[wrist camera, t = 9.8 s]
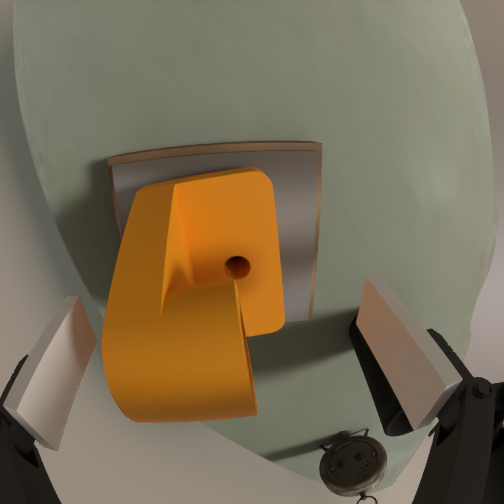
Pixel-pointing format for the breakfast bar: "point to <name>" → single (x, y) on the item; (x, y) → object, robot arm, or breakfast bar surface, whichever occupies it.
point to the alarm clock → (353, 465)
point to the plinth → (284, 186)
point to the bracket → (193, 297)
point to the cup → (379, 387)
